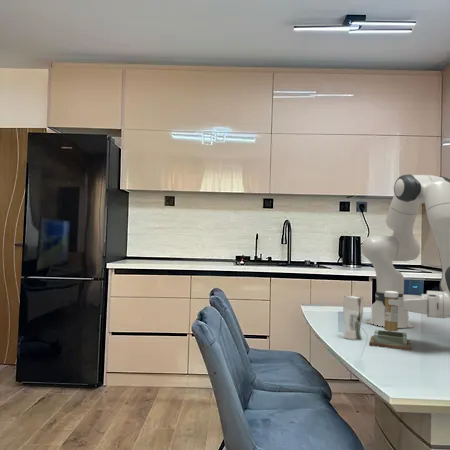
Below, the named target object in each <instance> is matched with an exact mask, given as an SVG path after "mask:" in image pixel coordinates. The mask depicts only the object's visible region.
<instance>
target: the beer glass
mask: <svg viewBox="0 0 450 450" xmlns="http://www.w3.org/2000/svg"><path fill="white" fill-rule="evenodd" d="M363 298H364V297H362V296H357V295H356V296H354V295H344V297H343V307H342V308H343V309H342V311H343V319H344V333H343V338H344V339H346V340H352V341H361V340H362V334H361V325H362V320H363V314H364V301H363Z"/></svg>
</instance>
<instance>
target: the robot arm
mask: <svg viewBox="0 0 450 450" xmlns="http://www.w3.org/2000/svg"><path fill="white" fill-rule="evenodd" d="M393 192H394V194H393V197H392V200H391V202H390V205H389V208H388V211H387V215H386V218H385V224H386V226H387V227H388V228H389V229H390V230H391V231H393V232H392V234H391V235H372V236H367V237H366V238H364V240H363V241H362V244H361V253H362V254H363V255H362V256H364V258H366V259H367V260H368V261H369V262H370V263H371V265H372V266H373V269H374V272H375V277H376V278H375V279H376V291H375V294H374V295H375V302H373V303H372V304H371V314H370V317H371V318H370V319H368V320H366V323H367V324H369V325H370V324H371V325H373V324H374V325H373V326H377V325H378V326H377V327H382V326H383V328H384V327H385V296H384V292H385V291H395V292H398V300H394V299H389V300H388V304H389V305H396V306H398V329H405V328H414V325H413V324H412V323H411V322H409V313H416V314H422V315H423V314H424V315H426V317H427V318H434V319H435V318H437V319H448V318H450V178H448V177H445V176H442V175H440V176H438V175H437V176H436V175H432V174H403V175H401V176H399V177H398V178H397V179H396V180H395V182H394V186H393ZM421 204H424V207H425V212H426V217H427V220H428V224H429V227H430V229H431V231H432V235H433V237H434V240H435V243H436V246H437V249H438V253H439V261H440V265H441V266H440V267H441V279H440V281H439V291H438V290H426V293H421V295H416V294H405V292H404V291H405V276H404V275H403V273H402V272H401V271H399V270H398V269H396V268H395V267H394V263H393V262H408V261H409V262H410V261H413V260H416V259H417V258H418V257H419V255H420V254H421V246H420V243H419V241H418V240H417V239H416V238H415V236H414V225H415V223H416V219H417V216H418V212H419V210H420V207H421Z"/></svg>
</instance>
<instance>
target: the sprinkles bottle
mask: <svg viewBox="0 0 450 450" xmlns="http://www.w3.org/2000/svg"><path fill="white" fill-rule="evenodd" d="M384 296H385V327H383V329H384V331H392V332H399V331H398V330H399V328H398V306H396V305H389V304H388V300H389V299H394V300H398V292H395V291H385V292H384Z"/></svg>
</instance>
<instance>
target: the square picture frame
mask: <svg viewBox="0 0 450 450" xmlns="http://www.w3.org/2000/svg"><path fill="white" fill-rule="evenodd" d="M407 335H408V334H407V332H401V331H387V330H381V329H375V330H374V332H373V335H371V336H370V339H369V342H368V346H369V347H377V346H379V347H378V348H385V347H387V348H388V349H395V350H396V349H397V350H403V351H404V350H405V351H412V344H411V343H412V342H411V339H408V338H407ZM387 348H386V349H387Z"/></svg>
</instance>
